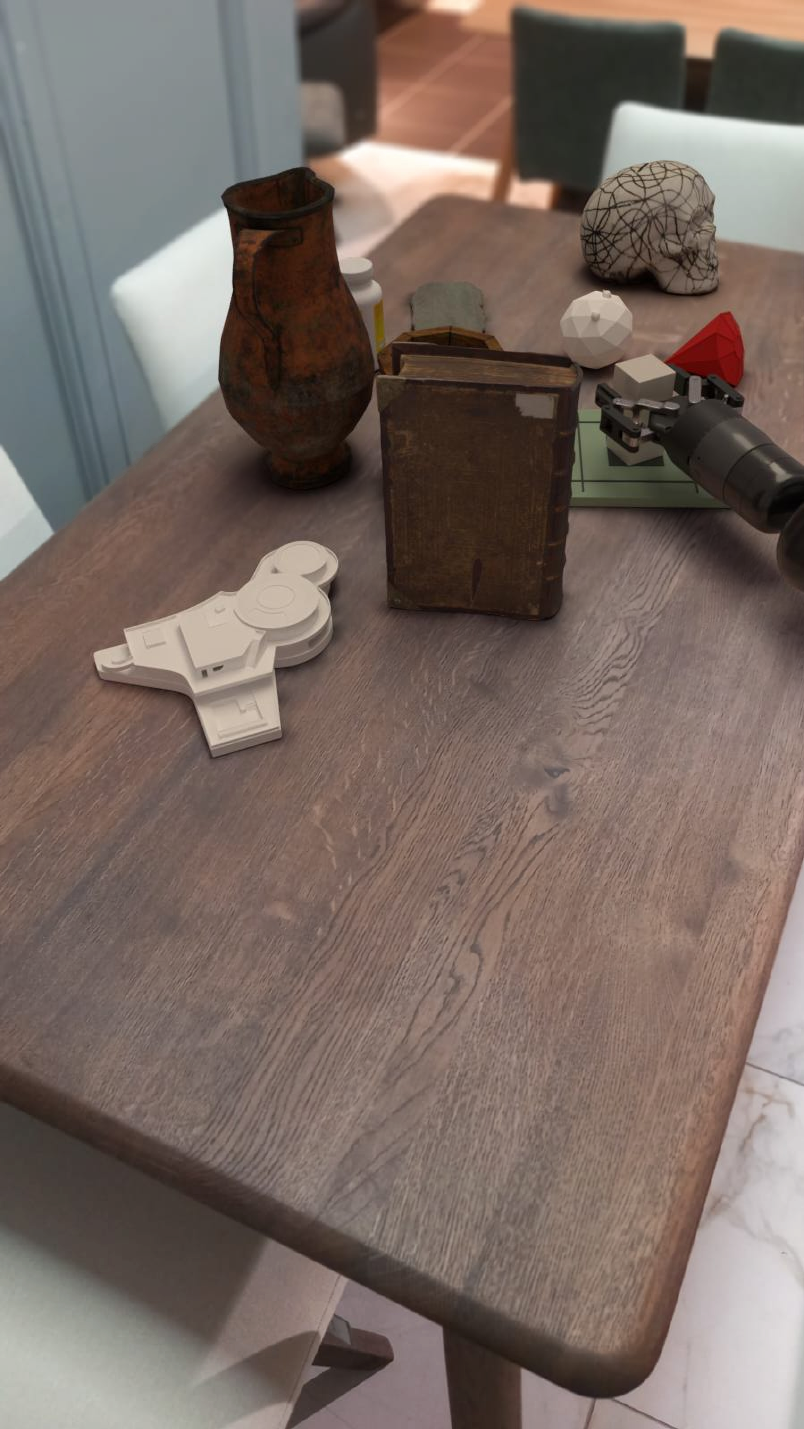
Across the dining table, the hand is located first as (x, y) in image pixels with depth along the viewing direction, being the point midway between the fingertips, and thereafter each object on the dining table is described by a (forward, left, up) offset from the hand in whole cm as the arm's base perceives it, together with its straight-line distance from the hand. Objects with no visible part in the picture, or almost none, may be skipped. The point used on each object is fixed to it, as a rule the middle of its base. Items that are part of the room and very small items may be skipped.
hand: (632, 381), depth 118 cm
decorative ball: (+1, -20, -9) cm, 22 cm away
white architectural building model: (+38, +36, -9) cm, 53 cm away
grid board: (-1, +2, -9) cm, 9 cm away
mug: (+17, +7, -9) cm, 20 cm away
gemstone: (-11, -17, -9) cm, 22 cm away
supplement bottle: (+32, -20, -9) cm, 39 cm away
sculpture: (-6, -45, -9) cm, 47 cm away
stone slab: (+21, -29, -9) cm, 37 cm away
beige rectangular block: (-1, +2, -7) cm, 8 cm away
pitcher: (+36, +5, -9) cm, 38 cm away
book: (+16, +27, -9) cm, 32 cm away
